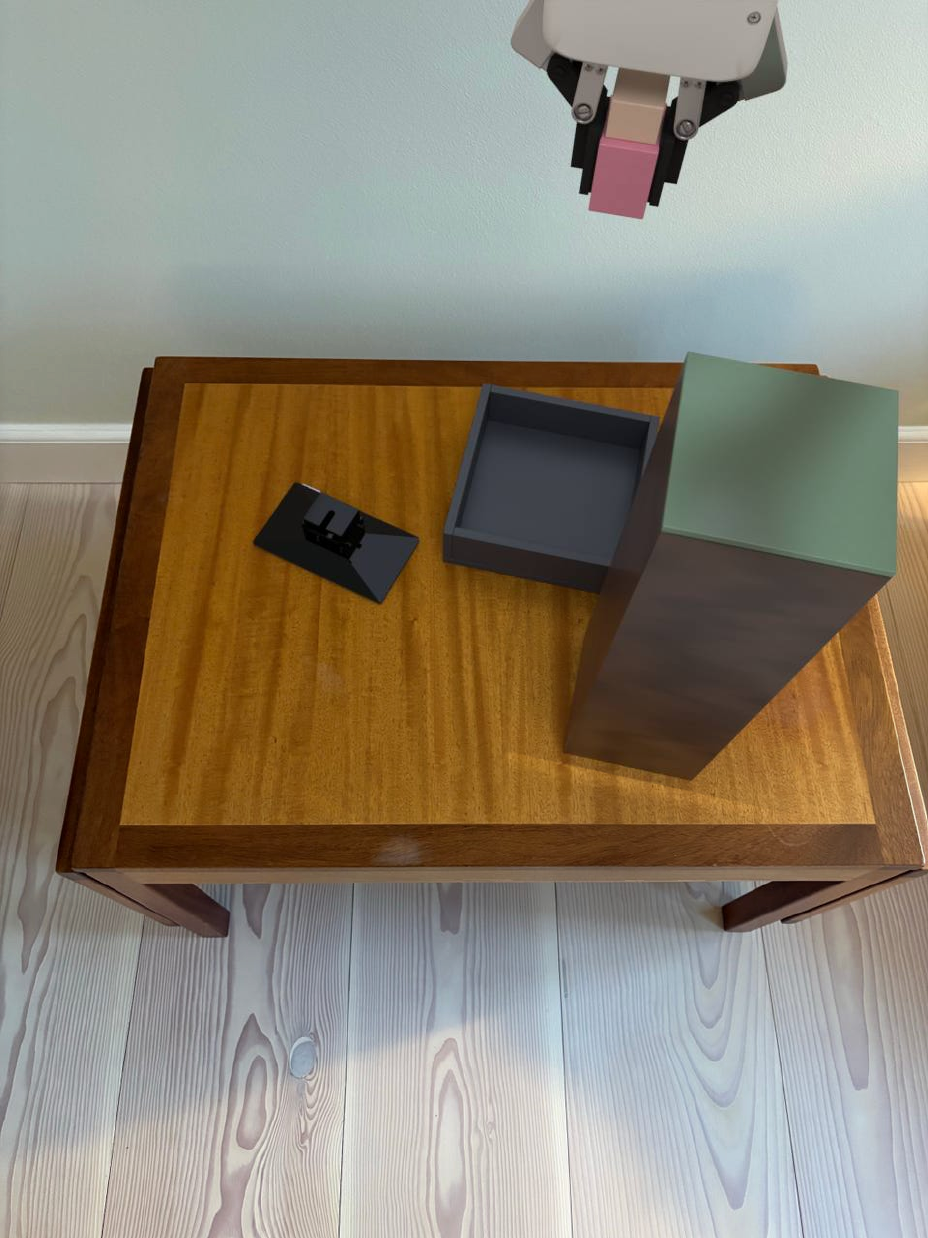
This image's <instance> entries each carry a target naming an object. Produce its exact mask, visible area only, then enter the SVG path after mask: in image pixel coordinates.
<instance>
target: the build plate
mask: <svg viewBox="0 0 928 1238" xmlns="http://www.w3.org/2000/svg"><path fill="white" fill-rule="evenodd" d="M252 543H253V545H254V547H256V548H259V549H260V550H263V551H264V552H267V553H269V554H272V555H273V556H275V557H278V558H280V559H282V560H284V561H287V563H288V562H289V563H291V564H292V565H295V566H296V567H299V568H301V569H303V570H305V571H308V572H309V573H312V574H313V575H316V576H317V577H321V578H322V579H324V580H327V581H328V582H330V583H332V584H334V585H337V586H339V587H341V588H343V589H345V590H348V591H350V592H352V593H353V594H356V595H359V596H361V597H362V598H364V599H366V600H369V601H371V602H373V603H375V604H378V605H381V604H383V602H384V601H385V599H386V597H387V595H388V594H389V592H390V591H391V589H392V587H393V586H394V584H395V582H396V581H397V579H398V578H399V576H400V574H401V572H402V571H403V569H404V568H405V566H406V565H407V563H408V561H409V559H410V558H411V556H412V555H413V553H414V551H415V550H416V548H417V546H418V544H419V543H420V537H419V536H417V535H414V534H413V533H410V532H409V531H406V530H404V529H401V528H399V527H397V526H394V525H393V524H390V523H388V522H386V521H384V520H381V519H380V518H377V517H375V516H373V515H371V514H368V513H366V512H363V511H361V510H360V509H359V508H357V507H355V506H353V505H350V504H348V503H346V502H343V501H342V500H340V499H338V498H335V497H332V496H330V495H328V494H326V493H324V492H321V491H320V490H319V489H316V488H314V487H312V486H310V485H307V484H306V483H300V482H297V481H296V482H293V484H292V485H291V487H290V488H289V490H288V491H287V492H286V493H285V495H284V496H283V498H282V499H281V501H280V502H279V504H278V505H277V506H276V508H275V509H274V511H273V512H272V513H271V515H270V516H269V517H268V519H267V521H266V522H265V523H264V525H263V526H262V528H261V529H260V530H259V532H258V533H257V534H256V536H255V538H254V539H253V541H252Z"/></svg>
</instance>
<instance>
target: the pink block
mask: <svg viewBox="0 0 928 1238" xmlns="http://www.w3.org/2000/svg"><path fill="white" fill-rule="evenodd" d="M670 82H671V76H669V75H662V74H656V73H649V72H642V71H636V70H629V69H623V68H618V69H617V73H616V78H615V81H614V87H613V91H612V94H610V96H609V97H611V98H610V103H609V107H608V112H607V116H606V120H605V125H604V129H603V133H602V138H601V139H600V143H599V148H598V154H597V160H596V166H595V172H594V178H593V184H592V190H591V193H590V197H589V203H588V209H587V210H588V211H589V212H594V213H600V214H606V215H612V216H620V217H626V218H630V219H636V220H644V216H645V213H646V208H647V205H648V202H647V200H648V196H649V191H650V187H651V183H652V179H653V174H654V170H655V166H656V162H657V158H658V153H659V143H660V138H661V133H662V127H663V122H664V116H665V111H666V106H668V103H667V98H668V92H669V87H670Z"/></svg>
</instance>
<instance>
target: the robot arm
mask: <svg viewBox="0 0 928 1238" xmlns="http://www.w3.org/2000/svg"><path fill="white" fill-rule="evenodd" d="M778 3H779V0H529V1H528V3H527V5H526V6H525V7H524V9H523V10H522V12H521V14H520V16H519V17H518V19H517V20H516V23H515V25H514V28H513V32H512V34H511V37H510V46H511V48H512V49H513V51H515V53H517V54H518V55H520V56H521V57H523V58H524V59H525V60H527V61H528V62H530V63H531V64H532V65H533V66H535V67H537V68H538V69H539V70H541V69H542V70H543V71H545V72H546V75H547V77H548V79H549V80H550V82H551V83H552V84H553V86H554V87H555V88H556V90H558V92H559V94H561V96H562V97H563V98H564V100H565V101H566V102H567V103H568V105H569V106H570V107H571V113H570V114H571V117H572V119H573V121H575V122H576V125H575V132H574V139H573V146H572V153H571V160H570V168H573V169H579V170H581V176H580V183H579V189H578V194H579V195H583V196H589V194H591V190H592V184H593V178H594V172H595V166H596V160H597V154H598V148H599V143H600V139H601V138H602V133H603V129H604V125H605V120H606V116H607V112H608V107H609V103H610V98H611V97H610V96H608V94H609V93H608V92H609V89H608V88H607V87H606V85H605V81H606V77H607V73H608V70H609V67H612V68H623V69H629V70H636V71H642V72H649V73H656V74H662V75H669V76H670V77H677V78H679V84H678V85H679V86H678V93H677V96H675V97H674V98H673V99H671V102H670V105H667V106H666V111H665V116H664V122H663V127H662V133H661V138H660V143H659V153H658V158H657V162H656V166H655V170H654V174H653V179H652V183H651V187H650V191H649V196H648V200H647V203H648V206H650V207H656V208H659V206H660V202H661V198H662V195H663V190H664V186H665V183H666V184H672V185H678V181H679V178H680V174H681V170H682V167H683V163H684V159H685V155H686V152H687V148H688V144H689V140H692V139H693V138H695V137H696V136H697V135H698V132H699V129H700V128H701V127H703V126H705V125H706V124H707V123H709V122H711V121H713V120H714V119H715V118H717V117H720V115H722V114H724V113H726V112H727V111H729V110H730V109H732V108H733V107H735V106H736V105H737V103H738V102H741V101H745V102H747V101H750V100H753V99H756V98H760V97H763V96H766V95H770V94H773V93H776V92H778V91H781V90H782V89H783V88H784V87H785V85H786V83H787V75H788V57H787V52H786V46H785V41H784V36H783V29H782V24H781V18H780V14H779V9H778Z"/></svg>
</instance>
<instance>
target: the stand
mask: <svg viewBox="0 0 928 1238" xmlns="http://www.w3.org/2000/svg"><path fill="white" fill-rule="evenodd" d="M899 398H900V390H898V389H891V388H887V387H881V386H876V385H871V384H865V383H860V382H856V381H855V382H854V381H849V380H843V379H839V378H833V377H827V376H822V375H817V374H813V373H811V374H810V373H805V372H801V371H796V370H795V371H794V370H791V369H785V368H780V367H774V366H768V365H762V364H757V363H753V362H747V361H742V360H735V359H731V358H725V357H721V356H715V355H709V354H705V353H698V352H694V351H687V353H686V355H685V357H684V360H683V363H682V365H681V368H680V371H679V374H678V376H677V379H676V382H675V385H674V387H673V390H672V393H671V396H670V398H669V402H668V405H667V407H666V410H665V413H664V415H663V418H662V421H661V424H660V425H659V426H660V427H659V428H658V434H657V437H656V440H655V443H654V445H653V448H652V451H651V454H650V456H649V459H648V462H647V465H646V467H645V470H644V473H643V476H642V478H641V481H640V484H639V487H638V489H637V492H636V495H635V498H634V500H633V503H632V506H631V509H630V511H629V514H628V517H627V520H626V522H625V525H624V528H623V531H622V533H621V536H620V539H619V542H618V544H617V547H616V550H615V553H614V555H613V558H612V561H611V564H610V566H609V569H608V572H607V575H606V577H605V580H604V583H603V586H602V588H601V591H600V594H598V596H597V600H596V603H595V604H594V608H593V610H592V613H591V616H590V618H589V622H588V624H587V627H586V629H585V632H584V636H583V638H582V645H581V649H580V655H579V661H578V665H577V672H576V678H575V684H574V690H573V695H572V699H571V705H570V712H569V718H568V723H567V729H566V734H565V740H564V746H563V751H562V752H563V754H567V755H572V756H576V757H581V758H585V759H591V760H594V761H599V762H603V763H608V764H613V765H617V766H622V767H626V768H630V769H637V770H641V771H645V772H650V773H653V774H659V775H663V776H669V777H672V778H677V779H682V780H686V781H691V782H692V781H694V779H695V778H696V777H697V776H698V775H699V774H700V773H702V771H703V770H704V769H705V768H706V767H707V766H708V765H709V764H710V763H711V762H712V761H713V760H714V759H715V758H716V757H717V756H718V755H719V754H720V753H721V752H722V751H723V750H724V749H725V748H727V746H728V745H729V744H730V743H731V742H732V741H733V740H734V739H736V737H737V736H738V735H739V734H740V733H741V732H742V731H743V730H744V729H745V728H746V726H748V725H749V723H751V722H752V720H754V718H755V717H756V716H757V715H758V714H760V713H761V711H762V710H763V709H764V708H765V707H766V706H768V704H770V702H771V701H772V700H773V699H774V698H775V697H776V696H777V695H778V694H779V693H780V692H781V691H782V690H784V688H785V687H786V686H787V685H788V684H789V683H790V682H791V681H792V680H793V679H794V678H795V677H796V676H797V675H798V674H799V673H800V672H801V671H802V670H803V669H804V668H805V667H806V666H807V665H808V664H809V663H810V662H811V661H812V660H813V658H815V657H816V656H817V655H818V654H819V652H820V651H822V649H824V648H825V646H827V644H829V643H830V641H832V639H834V637H836V635H838V633H839V632H840V631H841V630H842V629H843V628H844V627H846V625H847V624H848V623H850V621H852V619H853V618H854V617H855V616H856V615H857V614H858V613H859V612H860V611H861V610H862V609H863V608H864V607H865V606H866V605H867V604H868V603H869V602H870V601H871V600H872V599H873V598H874V597H875V596H876V595H877V594H878V593H879V592H880V591H881V590H882V589H883V588H884V587H885V586H886V584H888V582H889V581H891V579H892V578H894V576H896V574H897V572H898V570H897V569H898V568H897V566H898V562H897V560H898V493H899V492H898V490H899V489H898V488H899V487H898V483H899V471H898V470H899V469H898V468H899V414H900V413H899V408H900V407H899V404H900V403H899V402H900V401H899V400H900V399H899Z"/></svg>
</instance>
